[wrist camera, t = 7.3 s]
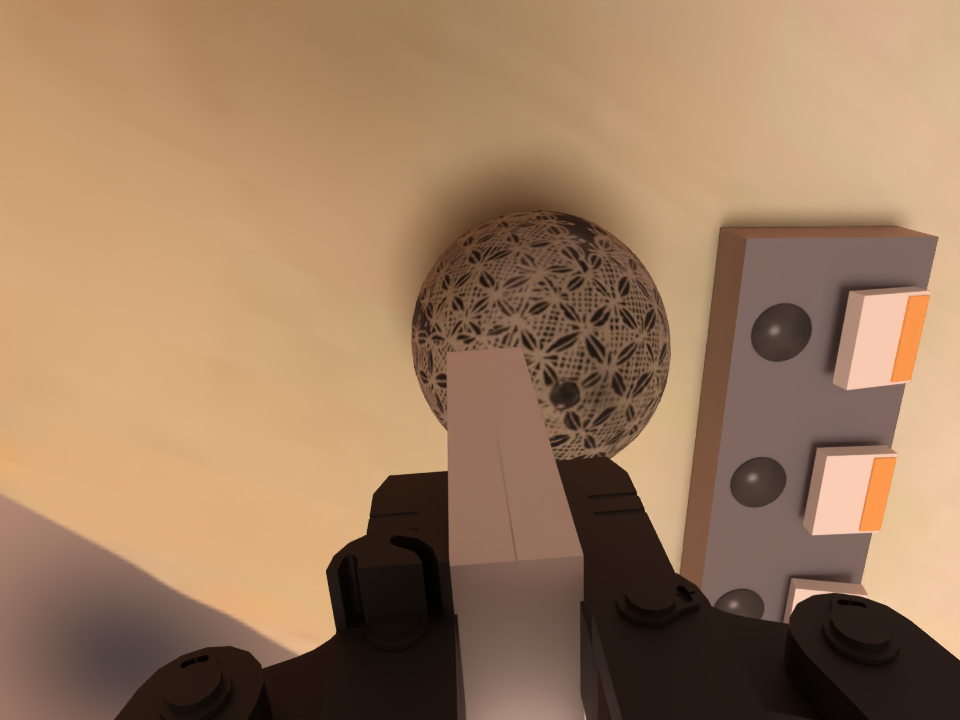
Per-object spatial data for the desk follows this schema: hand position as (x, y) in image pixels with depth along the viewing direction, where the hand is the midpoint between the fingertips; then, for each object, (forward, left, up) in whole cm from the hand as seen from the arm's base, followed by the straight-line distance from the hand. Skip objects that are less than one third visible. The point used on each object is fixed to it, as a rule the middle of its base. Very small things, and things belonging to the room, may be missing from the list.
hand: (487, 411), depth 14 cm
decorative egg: (+4, +3, -25) cm, 25 cm away
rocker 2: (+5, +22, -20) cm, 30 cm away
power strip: (+14, +19, -25) cm, 34 cm away
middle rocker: (+14, +22, -20) cm, 33 cm away
